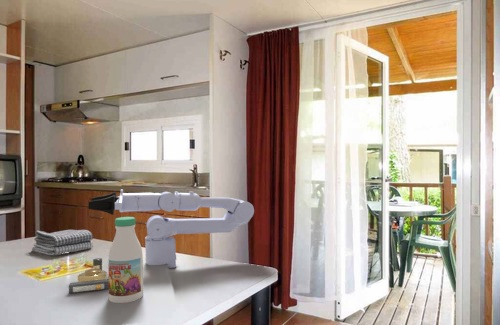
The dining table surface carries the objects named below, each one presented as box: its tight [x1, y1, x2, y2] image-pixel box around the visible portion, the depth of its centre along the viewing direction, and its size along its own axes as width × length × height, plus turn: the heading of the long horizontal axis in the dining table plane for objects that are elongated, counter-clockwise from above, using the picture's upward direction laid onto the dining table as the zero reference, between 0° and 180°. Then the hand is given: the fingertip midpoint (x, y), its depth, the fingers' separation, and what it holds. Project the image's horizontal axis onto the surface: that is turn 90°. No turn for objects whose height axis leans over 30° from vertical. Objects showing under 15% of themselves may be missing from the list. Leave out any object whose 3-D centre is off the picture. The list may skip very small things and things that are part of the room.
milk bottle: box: [107, 216, 144, 304], centre depth 82 cm, size 8×8×20 cm
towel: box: [31, 229, 94, 257], centre depth 133 cm, size 15×18×8 cm
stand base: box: [68, 278, 109, 295], centre depth 92 cm, size 16×16×3 cm
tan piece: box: [77, 257, 108, 282], centre depth 94 cm, size 15×7×4 cm, turn 17°
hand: (90, 203), depth 104 cm, fingers open, 7 cm apart
